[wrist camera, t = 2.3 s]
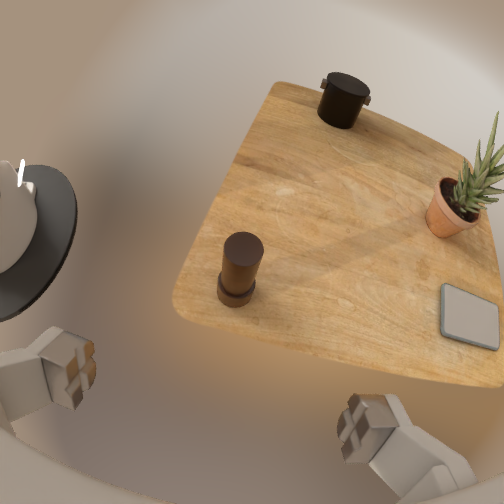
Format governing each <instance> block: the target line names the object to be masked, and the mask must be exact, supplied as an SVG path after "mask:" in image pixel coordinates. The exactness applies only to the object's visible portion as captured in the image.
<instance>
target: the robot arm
mask: <svg viewBox="0 0 504 504" xmlns="http://www.w3.org/2000/svg"><path fill="white" fill-rule="evenodd" d="M24 164H25V162H24V160H22V161H21V166H20V171H19V175H18V173H17V172H16V170H15V169H14V167H13V166H12V164H11V163H10V162H9V161H3V160H1V161H0V273H2V272H4V271H6V270H7V269H9V268H10V267H11V266H12V265H13V264H15V263H16V262H17V260H18V259H19V258H20V257H21V256H22V254H23V253H24V252H25V250H26V249H27V247H28V245H29V243H30V241H31V239H32V237H33V234H34V232H35V228H36V224H37V209H36V205H35V200H34V199H35V194H36V186H35V185H34V184H33V183H32V182H23V181H22V174H23V169H24ZM93 353H94V344H93V343H92V341H90V340H88V339H85V338H83V337H80V336H78V335H75V334H73V333H70V332H68V331H65V330H62V329H60V328H58V327H55V326H52V327H50V328H49V329H47V330H46V331H45V332H44V333H43V334H42V335H40V336H39V337H38V338H37V339H36V340H35V341H34V342H33V343H31V344H30V345H29V346H28V347H27V348H26V349H23V348H19V349H14V350H10V351H4V352H0V504H176V503H171V502H167V501H163V500H159V499H156V498H152V497H148V496H145V495H142V494H139V493H135V492H132V491H129V490H126V489H123V488H120V487H118V486H114V485H112V484H109V483H107V482H104V481H102V480H99V479H97V478H94V477H92V476H89V475H87V474H85V473H82V472H80V471H78V470H76V469H74V468H72V467H70V466H67V465H65V464H63V463H61V462H59V461H57V460H55V459H53V458H52V457H50V456H48V455H46V454H44V453H42V452H40V451H39V450H37V449H35V448H33V447H32V446H30V445H28V444H27V443H25V442H23V441H22V440H20V439H19V438H17V437H16V435H15V432H14V430H13V428H12V426H11V424H10V422H12V421H15V420H17V419H19V418H21V417H23V416H25V415H28V414H30V413H32V412H34V411H36V410H38V409H40V408H42V407H45V406H47V405H49V404H51V403H52V402H54V403H56V404H59V405H61V406H63V407H66V408H68V409H70V410H73V411H75V410H76V408H77V407H78V405H79V404H80V402H81V401H82V399H83V394H82V392H84V391H86V390H89V389H90V387H91V386H92V384H93V382H94V379H95V376H96V363H95V361H94V360H93V358H92V357H91V356H92V355H93ZM348 405H349V408H348V409H346V410H345V411H343V412H342V414H341V416H340V418H339V420H338V425H337V433H338V438H339V439H340V440H341V441H342V442H343V443H344V445H343V447H342V448H341V449H342V453H343V457H344V461H345V464H360V463H361V464H362V463H369V464H368V465H370V467H371V468H372V469H373V470H374V471H375V472H376V473H377V474H378V475H379V476H380V477H381V478H382V479H383V480H384V481H385V482H386V483H387V484H388V485H389V487H390V488H391V489H392V490H393V491H394V492H396V494H397V495H398V496H399V497H400V498H401V499H399V500H398V501H397V502H396V503H395V504H504V472H502V473H500V474H498V475H496V476H494V477H491V478H489V479H487V480H484V481H482V482H478V480H477V478H476V477H475V475H474V473H473V471H472V470H471V467H470V466H469V464H468V462H467V461H466V459H465V457H463V456H462V455H460V454H458V453H457V452H455V451H454V450H452V449H451V448H449V447H448V446H446V445H445V444H443V443H442V442H440V441H439V440H437V439H436V438H434V437H433V436H431V435H430V434H428V433H427V432H425V431H424V430H422V429H421V428H420V427H418V426H413V425H412V423H411V421H410V419H409V417H408V415H407V413H406V411H405V409H404V407H403V406H402V404H401V402H400V400H399V398H398V397H397V395H395V394H353V395H352V396H351V397H350V399H349V401H348Z"/></svg>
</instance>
